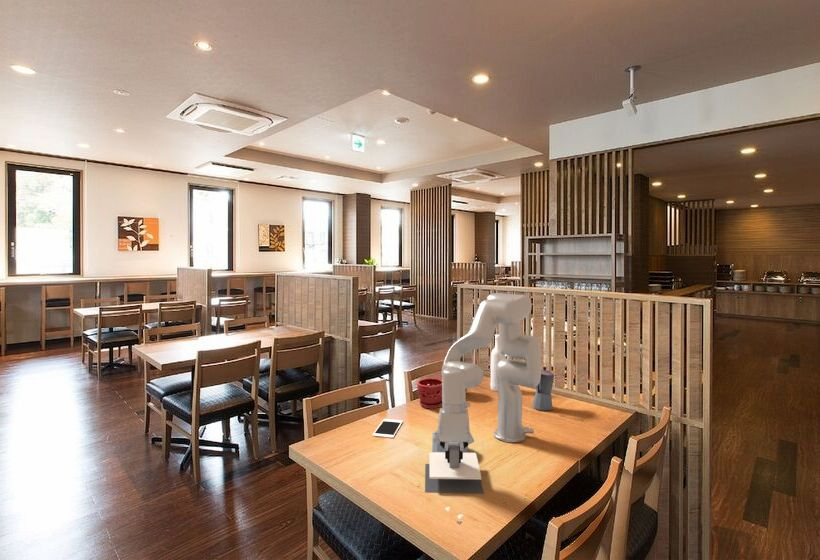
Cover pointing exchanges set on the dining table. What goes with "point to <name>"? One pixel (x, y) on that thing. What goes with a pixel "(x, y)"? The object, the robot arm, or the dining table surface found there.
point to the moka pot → (544, 391)
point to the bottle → (495, 363)
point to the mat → (452, 485)
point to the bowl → (439, 448)
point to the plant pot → (430, 392)
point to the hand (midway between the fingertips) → (453, 460)
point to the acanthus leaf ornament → (458, 515)
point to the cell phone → (388, 428)
